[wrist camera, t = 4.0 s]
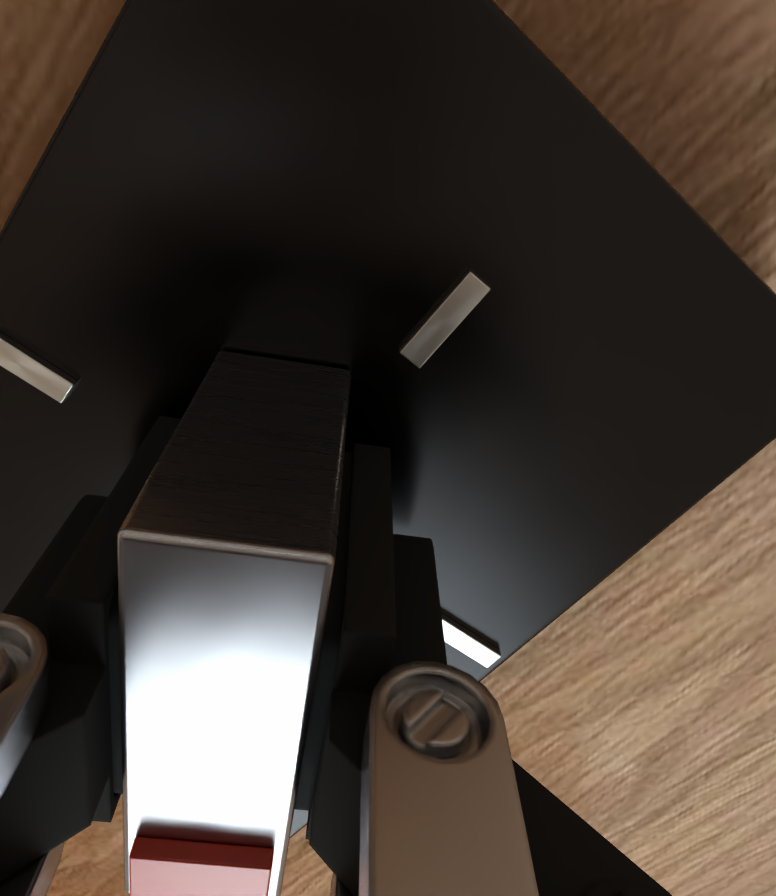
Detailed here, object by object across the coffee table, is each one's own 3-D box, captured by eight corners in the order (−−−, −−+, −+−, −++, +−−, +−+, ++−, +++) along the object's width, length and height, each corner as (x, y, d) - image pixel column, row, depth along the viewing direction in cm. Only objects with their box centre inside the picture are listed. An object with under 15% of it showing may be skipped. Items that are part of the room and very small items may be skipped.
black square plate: (290, -156, 9) (254, -254, 6) (753, 309, 12) (862, 380, 10) (-108, 527, 14) (-226, 637, 11) (291, 733, 17) (274, 860, 15)
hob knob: (218, 347, 9) (103, 550, 5) (351, 367, 9) (333, 578, 6) (202, 636, 12) (115, 919, 8) (309, 648, 12) (275, 931, 8)
